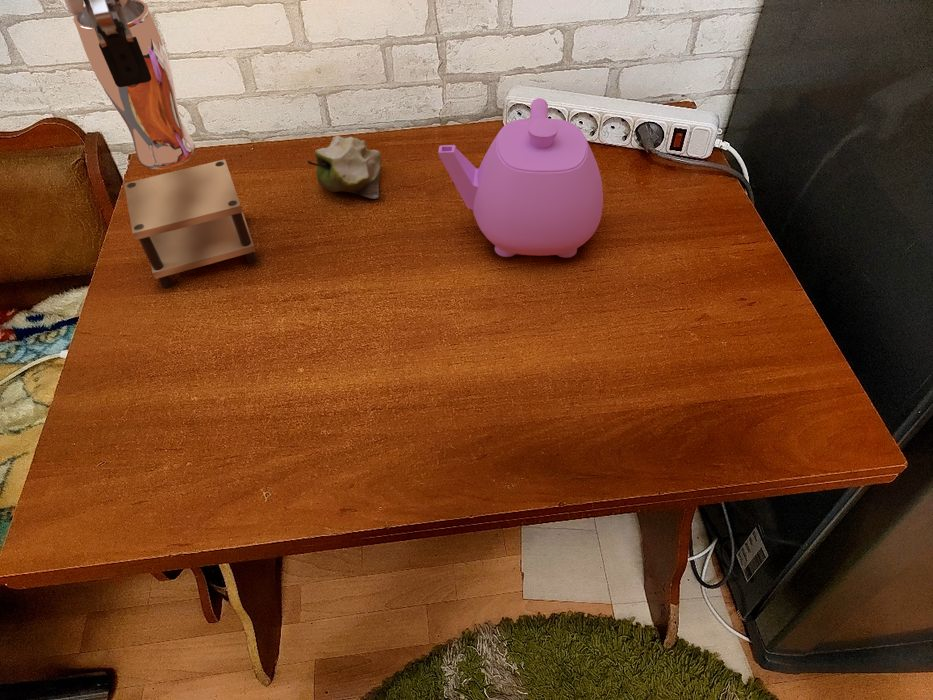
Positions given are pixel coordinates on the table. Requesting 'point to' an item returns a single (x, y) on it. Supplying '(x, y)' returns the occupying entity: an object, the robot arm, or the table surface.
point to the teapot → (532, 186)
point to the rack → (188, 219)
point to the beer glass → (143, 91)
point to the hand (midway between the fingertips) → (130, 63)
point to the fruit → (349, 167)
